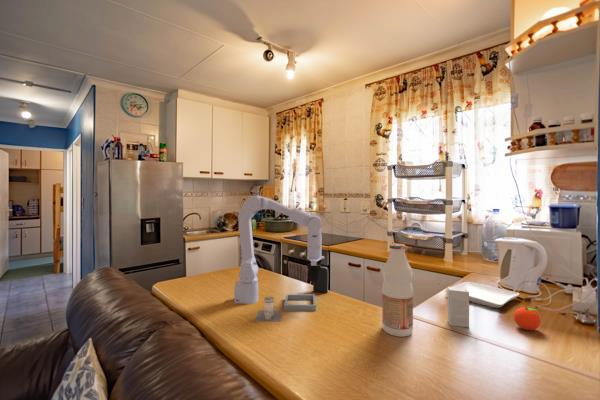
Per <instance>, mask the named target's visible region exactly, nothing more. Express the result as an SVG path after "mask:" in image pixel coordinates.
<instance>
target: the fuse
mask: <svg viewBox="0 0 600 400" xmlns="http://www.w3.org/2000/svg"><path fill="white" fill-rule="evenodd" d="M274 299H275V298H274V297H273V296H264V298H263V301H264V311H265V312H264V316H265V313H271V317H273V316H274V311H275V310H274V301H275V300H274Z"/></svg>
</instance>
